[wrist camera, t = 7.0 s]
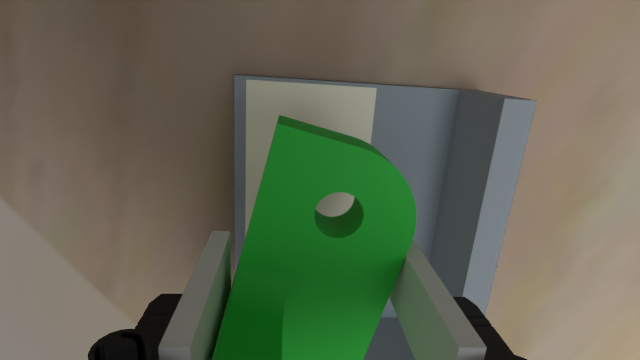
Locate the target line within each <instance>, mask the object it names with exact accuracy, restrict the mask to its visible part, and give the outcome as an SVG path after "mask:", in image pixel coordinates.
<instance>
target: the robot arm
mask: <svg viewBox="0 0 640 360" xmlns="http://www.w3.org/2000/svg"><path fill="white" fill-rule="evenodd" d="M230 291H231V231H212V232H211V234H210V236H209V238H208V241H207V243H206V245H205V247H204V249H203V251H202V254H201V256H200V258H199V260H198V262H197V264H196V267H195V269H194V271H193V273H192V275H191V277H190V280H189V282H188V284H187V286H186V288H185V290H184V292H183V294H161V295H159V296H158V297H157V298H156V299H154V300H153V301H152V302H151V303H149V305H148V307H147V309H146V310H145V312H144V314H143V316H142V317H141V319H140V321H139V322H138V326H136V327H135V329H125V330H119V331H116V332H113V333H109V334H108V335H106V336H104V337H102V338H101V339H99V340H98V341H97V342H96V343H95V344H94V345H93V346H92V347H91V349H90V351H89V353H88V360H212V359H213V355H214V351H215V348H216V344H217V340H218V336H219V332H220V329H221V325H222V321H223V317H224V313H225V310H226V306H227V302H228V298H229V294H230ZM389 298H390V300H391V303H392V305H393V307H394V310H395V312H396V315H397V317H398V320H399V322H400V324H401V327H402V329H403V332H404V334H405V337H406V339H407V341H408V344H409V346H410V349H411V351H412V354H413V356H414V358H415V360H527V359H525V358H522V357H519V356H516V355H514V354H513V353H512V351H511V350H510V349H509V347H508V346H507V345H506V343H505V342H504V341H503V339H502V338H501V337H500V335H499V334H498V333H497V331H496V330H495V329H494V328H493V327H492V326H491V324H490V322H489V321H488V320H487V318H485V316H484V314H483V313H482V312H481V310H480V309H479V308H478V306H477V305H475V304H474V303H473V302H471V301H470V300H469V299H467V298H466V297H452V296H451V294H450V293H449V291H448V290H447V288H446V287H445V285H444V284H443V282H442V281H441V279H440V278H439V276H438V275H437V273H436V272H435V271H434V269H433V268H432V266H431V265H430V263H429V262H428V260H427V259H426V257H425V256H424V254H423V253H422V251H421V250H420V248H419V247H418V245H417V244H416V243H415V241H414V240H412V243H411V245H410V248H409V250H408V253H407V255H406V258H405V260H404V262H403V265H402V267H401V270H400V272H399V274H398V277H397V279H396V282H395V284H394V286H393V289H392V291H391V294H390V296H389Z"/></svg>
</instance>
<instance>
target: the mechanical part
mask: <svg viewBox="0 0 640 360" xmlns="http://www.w3.org/2000/svg"><path fill="white" fill-rule="evenodd" d="M336 192H344V193H348V194H351V195H353V196H354V197H355V198H354V202H353V204H352V206H351V208H350V209H349V210H348V211H347V212H345V213H344V214H342V215H339V216H334V217H330V216H325V215H323V214H321V213H319V212H318V211H317V210H316V207H317V205H318V203H319V202H320V201H321V200H322V199H323V198H324V197H326V196H327V195H329V194H332V193H336ZM415 228H416V205H415V201H414V197H413V194H412V191H411V189H410V187H409V185H408V183H407V181H406V180H405V178H404V177H403V175H402V174H401V173H400V172H399V170H398V169H397V168H396V167H395V166H394V165H393V164H392V163H391V162H390V161H389V160H388V159H387V158H386V157H385V156H384V155H383V154H382V153H381V152H380V151H379V150H377V149H376V148H375V147H373V146H372V145H370V144H369V143H367V142H365V141H363V140H361V139H358V138H355V137H352V136H349V135H345V134H342V133H339V132H335V131H332V130H329V129H325V128H322V127H318V126H315V125H312V124H308V123H305V122H302V121H298V120H295V119H291V118H288V117H285V116H281V115H279V118H278V121H277V125H276V129H275V132H274V136H273V139H272V143H271V147H270V150H269V154H268V158H267V161H266V165H265V168H264V172H263V176H262V179H261V183H260V187H259V190H258V194H257V198H256V201H255V205H254V208H253V212H252V216H251V219H250V223H249V227H248V230H247V234H246V237H245V241H244V245H243V248H242V252H241V256H240V259H239V263H238V267H237V270H236V274H235V277H234V281H233V285H232V288H231V292H230V296H229V299H228V303H227V306H226V310H225V314H224V317H223V321H222V325H221V329H220V332H219V336H218V340H217V344H216V348H215V351H214V355H213V359H212V360H363V359H364V356H365V354H366V352H367V349H368V347H369V344H370V342H371V340H372V337H373V335H374V332H375V330H376V327H377V325H378V323H379V320H380V318H381V315H382V313H383V311H384V308H385V306H386V303H387V301H388V299H389V296H390V294H391V291H392V289H393V286H394V284H395V282H396V279H397V277H398V274H399V272H400V270H401V267H402V265H403V262H404V260H405V258H406V255H407V253H408V250H409V248H410V245H411V243H412V240H413V237H414V233H415Z"/></svg>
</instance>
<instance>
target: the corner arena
mask: <svg viewBox="0 0 640 360" xmlns="http://www.w3.org/2000/svg"><path fill="white" fill-rule="evenodd" d="M535 105H536V100H530V99H525V98H519V97H513V96H507V95H502V94H496V93H490V92H484V91H478V90H463V89H448V88H432V87H417V86H402V85H387V84H372V83H357V82H342V81H326V80H311V79H296V78H281V77H266V76H251V75H234V216H235V274H236V270H237V267H238V263H239V259H240V256H241V252H242V248H243V245H244V241H245V237H246V234H247V230H248V227H249V223H250V219H251V216H252V212H253V208H254V205H255V201H256V198H257V194H258V190H259V187H260V183H261V179H262V176H263V172H264V168H265V165H266V161H267V158H268V154H269V150H270V147H271V143H272V139H273V136H274V132H275V129H276V125H277V121H278V118H279V115H281V116H285V117H288V118H291V119H295V120H298V121H302V122H305V123H308V124H312V125H315V126H318V127H322V128H325V129H329V130H332V131H335V132H339V133H342V134H345V135H349V136H352V137H355V138H358V139H361V140H363V141H365V142H367V143H369V144H370V145H372V146H373V147H375V148H376V149H377V150H379V151H380V152H381V153H382V154H383V155H384V156H385V157H386V158H387V159H388V160H389V161H390V162H391V163H392V164H393V165H394V166H395V167H396V168H397V169H398V170H399V172H400V173H401V174H402V175H403V177H404V178H405V180H406V181H407V183H408V185H409V187H410V189H411V191H412V194H413V197H414V201H415V205H416V228H415V233H414V237H413V240H414V241H415V243H416V244H417V245H418V247H419V248H420V250H421V251H422V253H423V254H424V256H425V257H426V259H427V260H428V262H429V263H430V265H431V266H432V268H433V269H434V271H435V272H436V273H437V275H438V276H439V278H440V279H441V281H442V282H443V284H444V285H445V287H446V288H447V290H448V291H449V293H450V294H451V296H452V297H466V298H467V299H469V300H470V301H471V302H473V303H474V304H475V305H477V306H478V308H479V309H480V310H481V312H482V313H483V314H484V316H485V313H486V309H487V305H488V300H489V296H490V292H491V288H492V284H493V280H494V276H495V271H496V267H497V263H498V259H499V255H500V251H501V246H502V242H503V238H504V234H505V230H506V226H507V222H508V217H509V213H510V209H511V205H512V201H513V197H514V193H515V188H516V184H517V180H518V176H519V172H520V168H521V163H522V159H523V155H524V151H525V147H526V143H527V139H528V134H529V130H530V126H531V122H532V118H533V114H534V110H535ZM354 198H355V197H354V196H353V195H351V194H348V193H344V192H336V193H332V194H329V195H327V196H326V197H324V198H323V199H322V200H321V201H320V202H319V203H318V205H317V207H316V210H317V211H318V212H319V213H321V214H323V215H325V216H330V217H334V216H339V215H342V214H344V213H345V212H347V211H348V210H349V209H350V208H351V206H352V204H353V202H354ZM363 360H415V358H414V356H413V354H412V351H411V349H410V346H409V344H408V341H407V339H406V337H405V334H404V332H403V329H402V327H401V324H400V322H399V320H398V317H397V315H396V312H395V310H394V307H393V305H392V303H391V300H390V298H389V299H388V301H387V303H386V306H385V308H384V311H383V313H382V315H381V318H380V320H379V323H378V325H377V327H376V330H375V332H374V335H373V337H372V340H371V342H370V344H369V347H368V349H367V352H366V354H365V356H364V359H363Z"/></svg>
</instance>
